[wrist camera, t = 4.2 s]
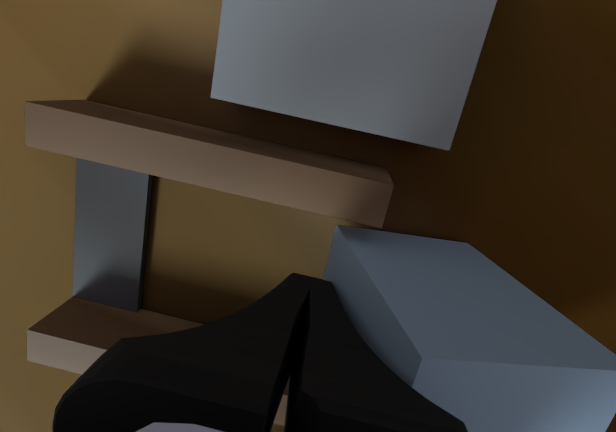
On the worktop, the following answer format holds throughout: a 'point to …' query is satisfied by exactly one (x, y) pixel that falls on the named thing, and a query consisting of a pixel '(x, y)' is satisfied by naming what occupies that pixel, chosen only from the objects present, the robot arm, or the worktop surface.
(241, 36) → the stand
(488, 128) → the worktop surface
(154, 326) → the channel
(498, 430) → the block
